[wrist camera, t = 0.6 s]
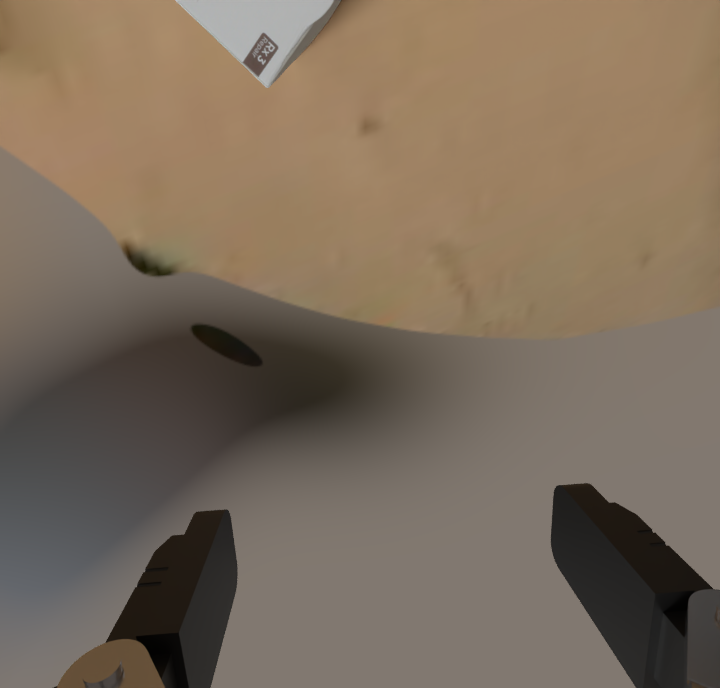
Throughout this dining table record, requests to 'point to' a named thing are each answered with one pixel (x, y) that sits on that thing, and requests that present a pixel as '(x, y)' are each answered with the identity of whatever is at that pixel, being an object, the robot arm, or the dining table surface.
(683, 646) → the robot arm
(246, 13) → the skincare box
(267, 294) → the dining table surface
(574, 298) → the dining table surface
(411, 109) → the dining table surface
